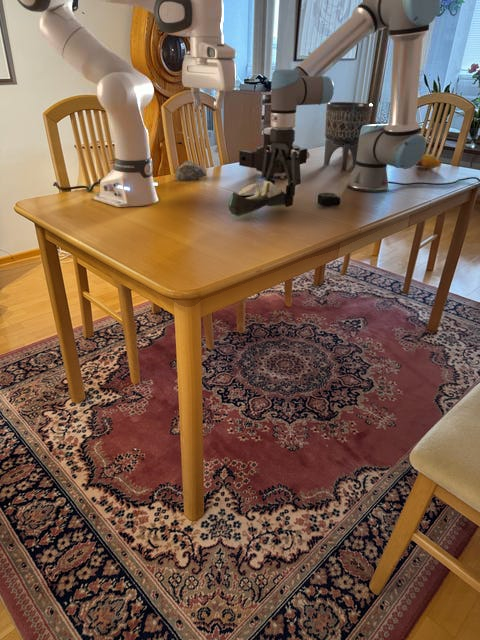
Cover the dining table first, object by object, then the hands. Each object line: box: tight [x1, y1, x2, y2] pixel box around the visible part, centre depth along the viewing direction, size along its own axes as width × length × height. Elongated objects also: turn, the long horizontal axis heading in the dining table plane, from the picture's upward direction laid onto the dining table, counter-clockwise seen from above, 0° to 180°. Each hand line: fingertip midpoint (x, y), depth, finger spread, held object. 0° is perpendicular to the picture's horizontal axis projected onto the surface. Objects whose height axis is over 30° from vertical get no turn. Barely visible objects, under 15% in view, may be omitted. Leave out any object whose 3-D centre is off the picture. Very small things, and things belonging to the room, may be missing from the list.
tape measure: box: [317, 192, 342, 208], centre depth 153 cm, size 7×7×4 cm
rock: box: [174, 160, 208, 182], centre depth 182 cm, size 13×9×6 cm, turn 131°
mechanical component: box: [238, 126, 311, 179], centre depth 191 cm, size 22×21×30 cm
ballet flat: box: [228, 179, 286, 217], centre depth 141 cm, size 8×24×8 cm, turn 131°
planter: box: [323, 101, 374, 172], centre depth 204 cm, size 20×20×26 cm
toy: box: [415, 154, 442, 170], centre depth 212 cm, size 11×6×15 cm
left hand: (207, 107), depth 128 cm, fingers open, 8 cm apart
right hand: (279, 203), depth 148 cm, fingers closed on ballet flat, 8 cm apart
